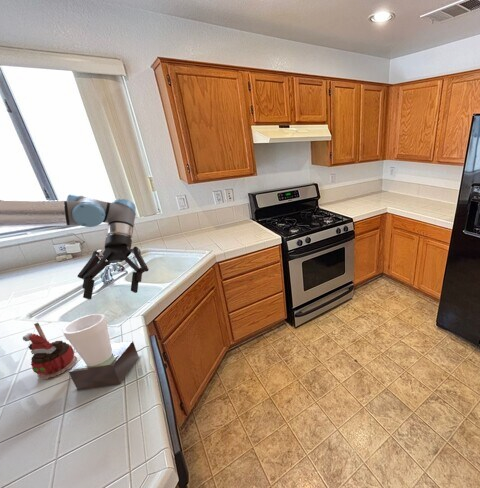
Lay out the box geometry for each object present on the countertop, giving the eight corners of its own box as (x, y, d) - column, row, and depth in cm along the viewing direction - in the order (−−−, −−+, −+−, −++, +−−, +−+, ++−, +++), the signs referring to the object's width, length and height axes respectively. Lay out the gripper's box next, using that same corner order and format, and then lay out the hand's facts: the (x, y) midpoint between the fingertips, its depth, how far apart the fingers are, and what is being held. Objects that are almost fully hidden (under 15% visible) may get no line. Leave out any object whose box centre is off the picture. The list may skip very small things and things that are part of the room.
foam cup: (85, 354, 83) (69, 319, 78) (120, 343, 86) (107, 310, 82) (74, 375, 75) (56, 338, 70) (114, 362, 78) (99, 326, 74)
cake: (86, 357, 92) (66, 313, 85) (61, 379, 83) (37, 332, 77) (56, 358, 92) (35, 315, 86) (28, 380, 83) (1, 334, 77)
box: (77, 390, 78) (68, 371, 76) (101, 362, 89) (93, 345, 86) (120, 383, 80) (112, 365, 77) (139, 357, 90) (132, 340, 88)
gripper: (161, 238, 101) (157, 292, 92) (86, 247, 96) (75, 304, 87) (152, 229, 94) (147, 285, 85) (71, 237, 89) (57, 298, 80)
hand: (110, 295), depth 86 cm, fingers open, 13 cm apart
